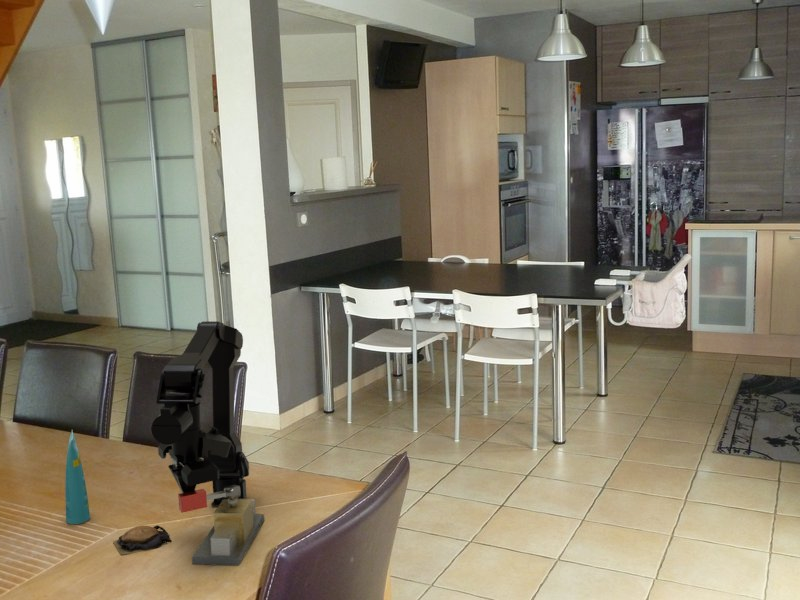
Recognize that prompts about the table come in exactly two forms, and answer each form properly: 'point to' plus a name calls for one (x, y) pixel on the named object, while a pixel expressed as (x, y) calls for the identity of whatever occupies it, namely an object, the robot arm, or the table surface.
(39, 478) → the table surface
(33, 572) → the table surface
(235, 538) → the valve stand
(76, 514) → the tube
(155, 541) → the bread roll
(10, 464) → the table surface
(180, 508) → the valve lever
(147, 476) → the table surface
